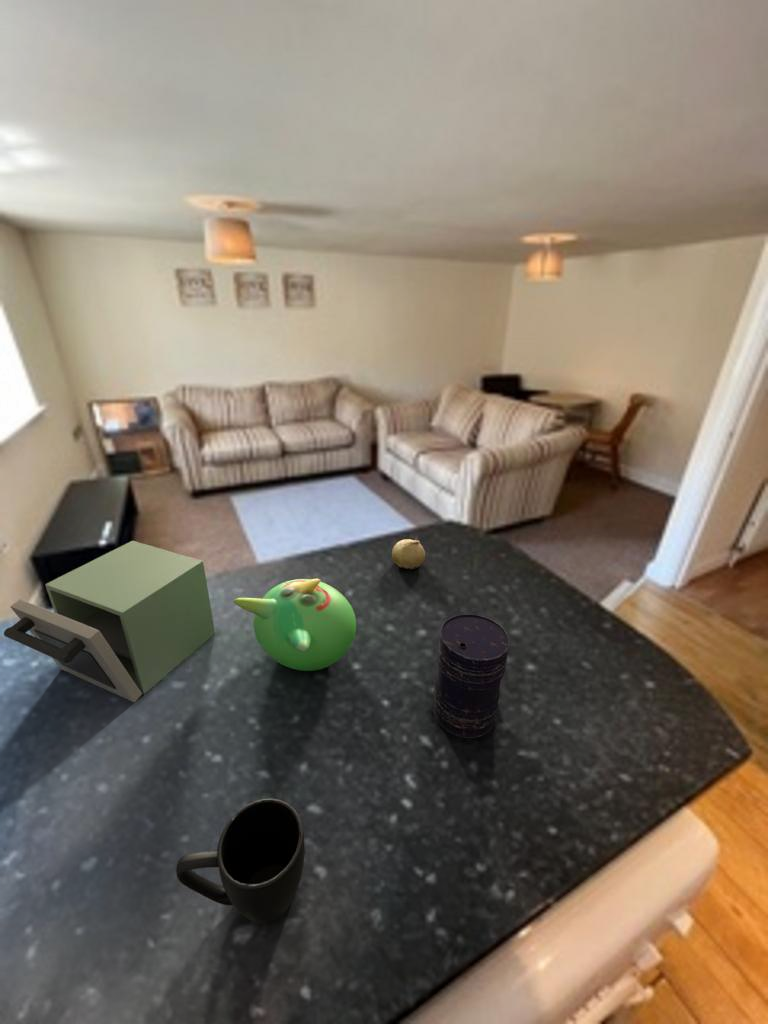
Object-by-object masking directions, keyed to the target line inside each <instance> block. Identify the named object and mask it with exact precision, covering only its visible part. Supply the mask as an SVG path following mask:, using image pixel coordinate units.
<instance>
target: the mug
mask: <svg viewBox="0 0 768 1024" xmlns="http://www.w3.org/2000/svg"><path fill="white" fill-rule="evenodd" d="M226 823H227V824H225V826H224V828H223V830H222V832H221V834H220V836H219V839H218V844H217V848H216V850H205V851H197V852H192V853H188V854H185V855H182V856H180V858H179V859H178V861H177V862H176V867H175V874H176V878H177V880H178V882H180V883H181V884H182V885H183V886H185V887H186V888H188V889H190V890H192V891H193V892H194V893H198V894H199V895H201V896H203V897H205V898H207V899H209V900H211V901H213V902H215V903H217V904H220V905H224V906H233V907H234V908H235V909H236V910H237V911H238V912H239V913H240V914H241V915H242V916H243V917H245V918H246V919H248V921H250V922H251V923H253V924H255V925H259V926H266V925H270V924H273V923H275V922H276V921H277V922H278V920H280V919H281V918H282V917H284V915H285V914H286V913H287V912H288V910H289V909H290V908H291V905H292V903H293V902H294V898H295V895H296V893H297V891H298V888H299V886H300V884H301V879H302V876H303V870H304V865H305V853H306V850H305V849H306V848H305V834H304V828H303V827H304V826H303V822H302V819H301V816H300V815H299V813H298V812H297V811H296V809H295V807H293V806H291V805H290V804H289V803H288V802H285V801H283V800H281V799H276V798H261V799H258V800H255V801H252V802H250V803H248V804H246V805H245V806H243V807H242V808H240V809H239V810H238V811H236V813H234V815H233V816H231V818H229V820H228V822H226ZM207 868H209V869H210V868H218V872H219V876H220V880H221V883H222V885H221V884H219V883H218V884H217V883H216V882H213V881H211V880H209V879H208V878H206V877H204V876H202V875H200V874H199V873H197V872H195V871H194V870H198V869H207Z"/></svg>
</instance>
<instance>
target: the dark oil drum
mask: <svg viewBox="0 0 768 1024" xmlns="http://www.w3.org/2000/svg"><path fill="white" fill-rule="evenodd" d="M440 628H441V629H440V636H439V642H438V648H437V649H438V650H437V658H436V659H437V665H438V671H437V675H436V677H435V683H434V689H433V705H432V711H433V715H434V717H435V719H436V721H437V723H438V724H439V725H440V726H441V728H443V729H444V730H445V731H446V732H448V733H450V734H452V735H454V736H457V737H461V738H466V739H473V738H479V737H482V736H485V735H486V734H487V733H489V732H490V731H491V730H492V728H493V727H494V725H495V721H496V718H497V713H498V711H499V705H500V697H501V682H502V679H503V677H504V675H505V673H506V667H507V662H508V653H509V648H510V637H509V635H508V633H507V631H506V630H505V629H504V628H503V626H501V625H500V624H499V623H498V622H496V621H494V620H492V619H491V618H489V617H485V616H482V615H477V614H473V613H471V614H470V613H466V614H457V615H455V616H452V617H450V618H448V619H447V620H446V621H445V622H443V624H442V626H441V627H440Z"/></svg>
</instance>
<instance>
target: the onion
mask: <svg viewBox="0 0 768 1024" xmlns="http://www.w3.org/2000/svg"><path fill="white" fill-rule="evenodd" d="M418 538H419V537H417V536H416V537H415V539H410V538H409V539H402V540H399V541H398V542H396V543H395V545H393V548H392V550H391V558H392V561H393V562H394V564H395V565H396V566H398V567H399V568H401V569H407V570H414V569H417V568H419V567H420V566H422V564H423V563H424V562H425V559H426V551H425V549H424V547H423V545H422V544H421V542H420V540H418ZM415 567H416V568H415ZM408 568H409V569H408Z"/></svg>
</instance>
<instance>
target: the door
mask: <svg viewBox="0 0 768 1024" xmlns="http://www.w3.org/2000/svg"><path fill="white" fill-rule="evenodd" d="M10 608H11V610H12V611H13V612H14V613H15V615H16V616H17V617H18V618H19V619H20V620H18V621H17V622H16V623H14V624H13V625H12V626H10V627H7V628H5V630H3V636H4V637H6V638H8V639H11V640H12V641H14V642H16V643H18V644H19V643H20V644H21V645H24V646H26V647H28V648H30V649H32V650H35V651H36V652H39V653H41V654H44V655H46V656H48V657H50V658H51V659H52V660H53V661H54V662H55V664H56V665H57V666H58V667H59V668H60V670H62V671H64V672H66V673H69V674H70V675H72V676H75V677H77V678H80V679H81V680H84V681H86V682H88V683H90V684H93V685H95V686H97V687H99V688H101V689H104V690H105V691H108V692H110V693H113V694H115V695H116V696H119V697H121V698H123V699H126V700H128V701H130V702H132V703H136V702H137V700H138V699H140V697H141V696H142V695H143V693H141V692H140V690H139V689H138V687H137V686H136V684H135V683H134V681H133V680H132V678H131V677H130V675H129V674H128V672H127V671H126V669H125V668H124V667H123V665H122V664H121V662H120V661H119V659H118V658H117V656H116V655H115V653H114V652H113V650H112V649H111V647H110V646H109V644H108V643H107V641H106V640H105V638H104V637H103V636H102V634H101V633H100V631H99V630H97V629H94V628H92V627H89V626H87V625H84V624H82V623H79V622H77V621H74V620H72V619H69V618H67V617H64V616H62V615H59V614H57V613H55V612H54V611H51V610H49V609H46V608H44V607H42V606H39V605H36V604H34V603H31V602H29V601H26V600H24V599H22V598H20V599H18V600H16V601H15V602H14V603H13V604H11V605H10ZM28 632H30V633H31V634H32V635H31V634H29V633H28Z"/></svg>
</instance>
